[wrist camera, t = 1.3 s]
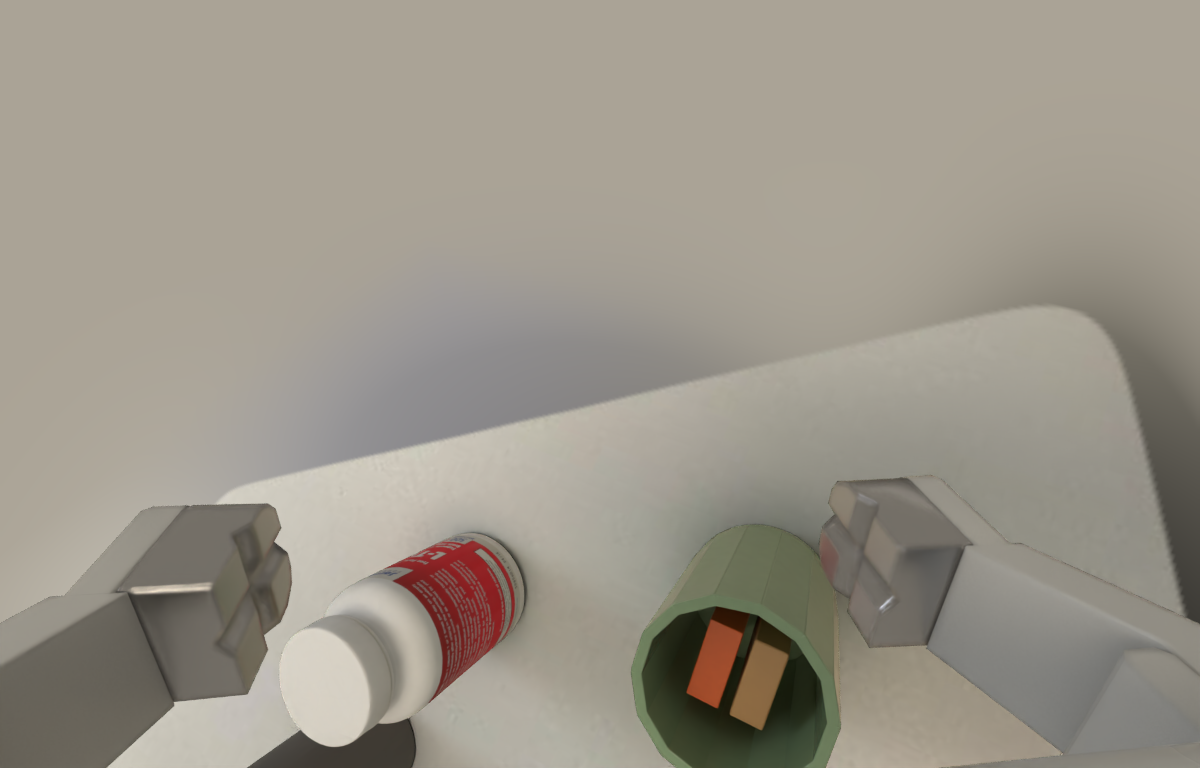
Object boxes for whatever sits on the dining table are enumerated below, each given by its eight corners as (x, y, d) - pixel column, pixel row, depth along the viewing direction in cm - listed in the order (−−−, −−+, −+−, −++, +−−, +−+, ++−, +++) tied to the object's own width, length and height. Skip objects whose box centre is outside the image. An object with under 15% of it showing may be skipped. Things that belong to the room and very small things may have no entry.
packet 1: (764, 567, 27) (743, 633, 21) (744, 626, 28) (717, 709, 21) (739, 556, 28) (710, 618, 21) (719, 615, 28) (685, 693, 22)
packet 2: (800, 581, 27) (789, 654, 20) (779, 641, 27) (762, 732, 21) (773, 570, 27) (755, 639, 21) (753, 629, 28) (728, 715, 21)
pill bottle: (487, 509, 33) (330, 579, 23) (549, 605, 32) (414, 725, 22) (414, 566, 35) (239, 655, 25) (471, 659, 34) (313, 793, 24)
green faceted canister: (858, 557, 26) (870, 651, 18) (808, 692, 27) (797, 841, 19) (713, 501, 28) (664, 562, 20) (672, 628, 30) (609, 736, 21)
